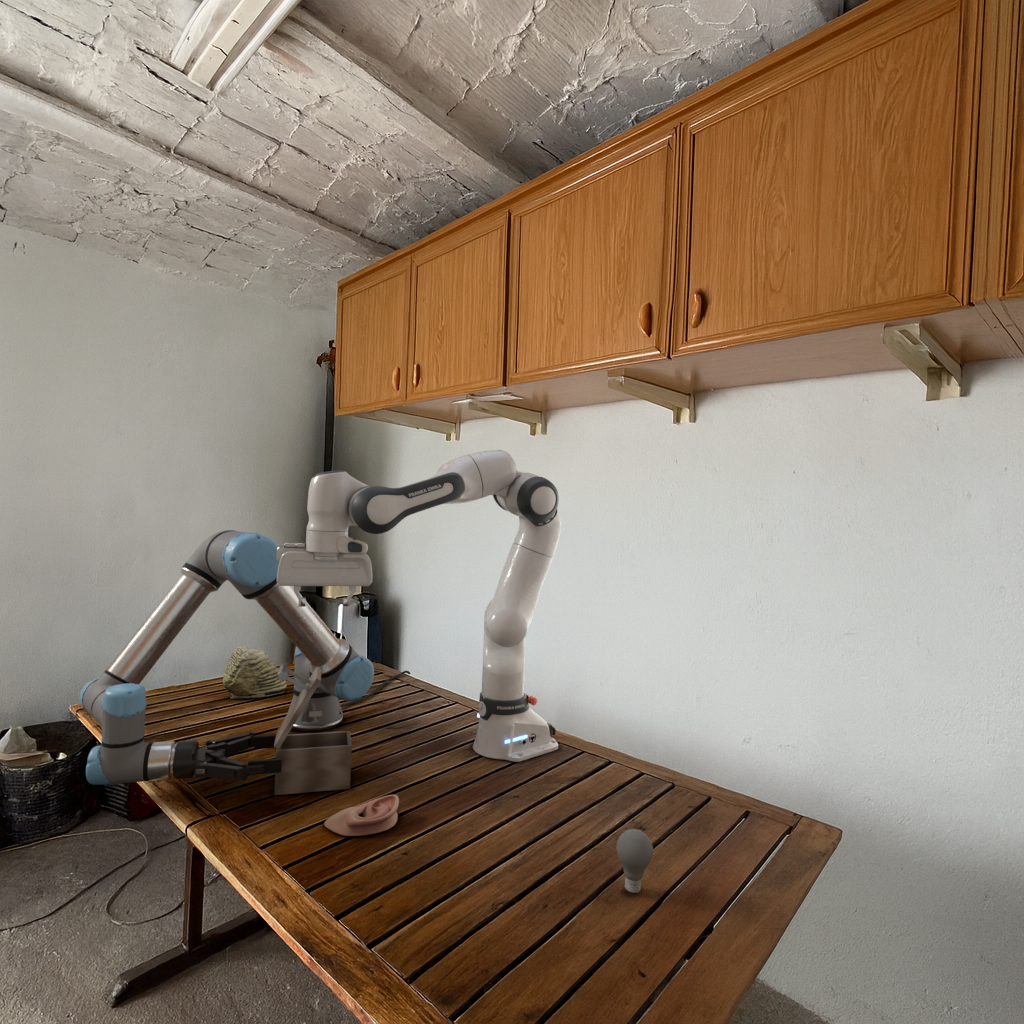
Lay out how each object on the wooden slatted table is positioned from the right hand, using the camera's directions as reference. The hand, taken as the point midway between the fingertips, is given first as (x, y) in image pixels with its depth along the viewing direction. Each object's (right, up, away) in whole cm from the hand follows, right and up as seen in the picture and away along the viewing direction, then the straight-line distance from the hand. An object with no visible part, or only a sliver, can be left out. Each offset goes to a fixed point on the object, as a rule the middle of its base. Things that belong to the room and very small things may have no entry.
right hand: (324, 606), depth 140 cm
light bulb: (+62, -43, -34) cm, 82 cm away
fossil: (-39, -37, +58) cm, 79 cm away
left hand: (-8, -32, -2) cm, 33 cm away
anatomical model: (+12, -40, -16) cm, 45 cm away
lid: (-5, -22, -1) cm, 23 cm away
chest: (-3, -39, 0) cm, 39 cm away
